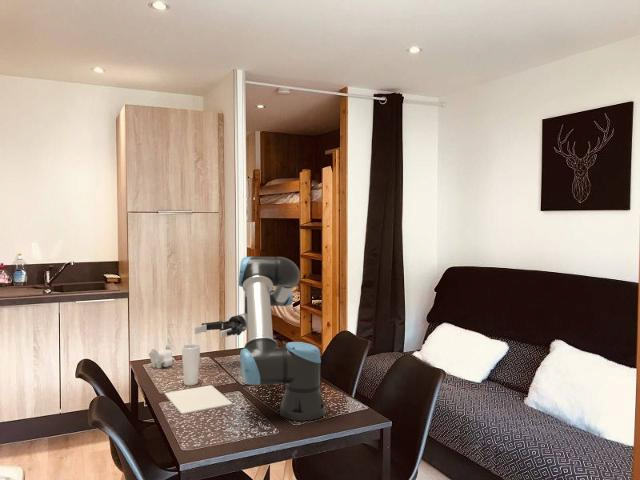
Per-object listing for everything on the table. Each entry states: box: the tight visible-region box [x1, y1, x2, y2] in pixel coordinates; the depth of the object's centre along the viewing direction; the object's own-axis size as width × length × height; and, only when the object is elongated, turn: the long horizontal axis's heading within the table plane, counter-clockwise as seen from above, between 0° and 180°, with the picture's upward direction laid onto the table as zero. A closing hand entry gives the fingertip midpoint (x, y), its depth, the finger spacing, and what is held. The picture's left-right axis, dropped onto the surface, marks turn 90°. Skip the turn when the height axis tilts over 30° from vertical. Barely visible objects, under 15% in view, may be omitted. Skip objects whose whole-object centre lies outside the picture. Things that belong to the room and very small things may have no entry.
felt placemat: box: [164, 385, 233, 416], centre depth 180 cm, size 22×18×1 cm
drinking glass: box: [181, 343, 201, 387], centre depth 196 cm, size 7×7×15 cm
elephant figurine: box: [148, 344, 177, 369], centre depth 218 cm, size 10×12×9 cm
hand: (207, 332), depth 205 cm, fingers open, 13 cm apart
